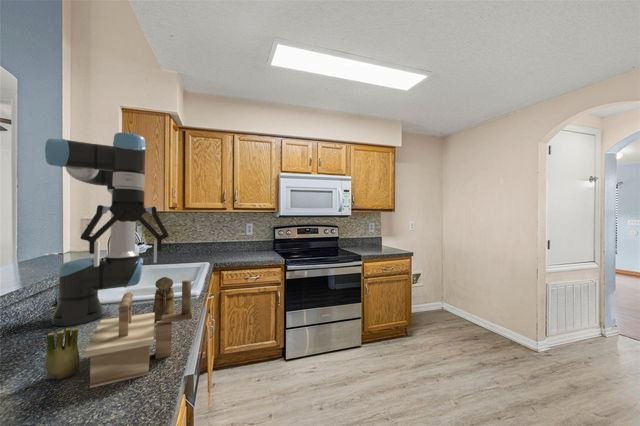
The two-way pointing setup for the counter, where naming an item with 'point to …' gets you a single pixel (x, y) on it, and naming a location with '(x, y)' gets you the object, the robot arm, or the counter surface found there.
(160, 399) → the counter surface
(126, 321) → the lid
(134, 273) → the robot arm
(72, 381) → the counter surface
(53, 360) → the fennel bulb
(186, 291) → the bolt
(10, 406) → the counter surface
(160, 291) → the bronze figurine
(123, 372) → the toolbox
